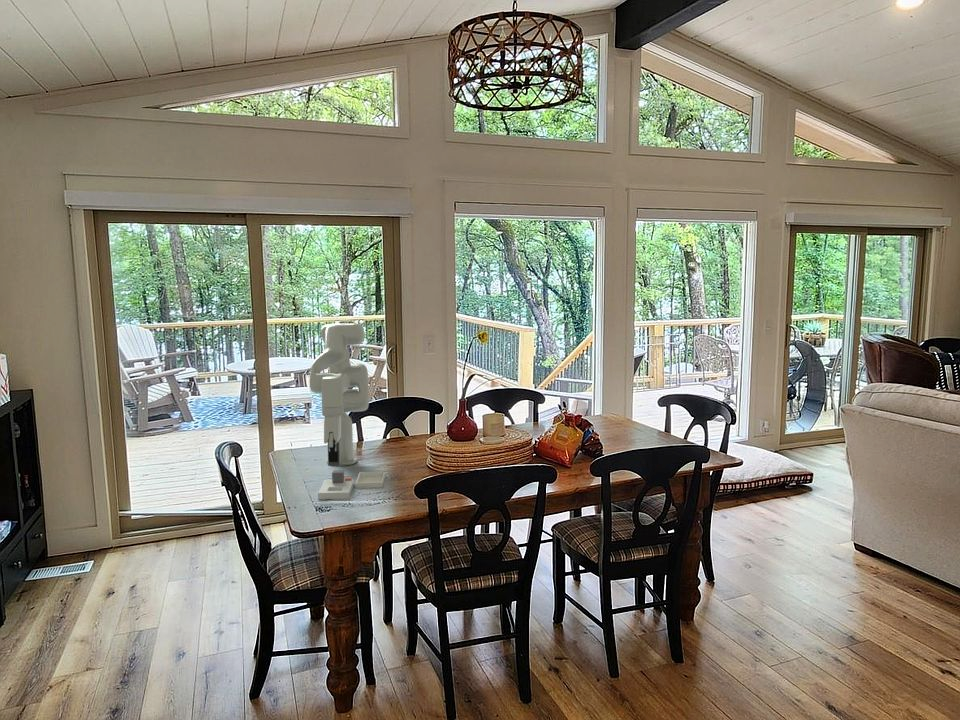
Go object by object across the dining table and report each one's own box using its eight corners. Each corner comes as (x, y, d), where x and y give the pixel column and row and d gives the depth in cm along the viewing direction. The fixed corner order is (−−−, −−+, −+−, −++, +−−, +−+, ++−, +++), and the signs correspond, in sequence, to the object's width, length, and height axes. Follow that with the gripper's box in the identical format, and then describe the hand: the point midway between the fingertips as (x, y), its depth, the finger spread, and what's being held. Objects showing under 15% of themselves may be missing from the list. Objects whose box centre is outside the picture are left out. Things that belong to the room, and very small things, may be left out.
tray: (359, 478, 264) (359, 472, 263) (385, 477, 264) (385, 471, 264) (355, 489, 251) (355, 483, 250) (382, 489, 251) (382, 482, 251)
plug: (329, 463, 242) (328, 439, 241) (340, 463, 242) (340, 439, 241) (328, 465, 239) (327, 441, 238) (339, 465, 239) (338, 441, 238)
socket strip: (325, 486, 253) (324, 469, 252) (354, 486, 254) (353, 468, 253) (318, 501, 238) (317, 482, 237) (349, 500, 239) (348, 481, 238)
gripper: (325, 406, 246) (327, 454, 248) (318, 415, 230) (319, 467, 232) (346, 405, 246) (347, 454, 249) (340, 415, 230) (341, 466, 232)
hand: (334, 459), depth 240 cm, fingers closed on plug, 3 cm apart
